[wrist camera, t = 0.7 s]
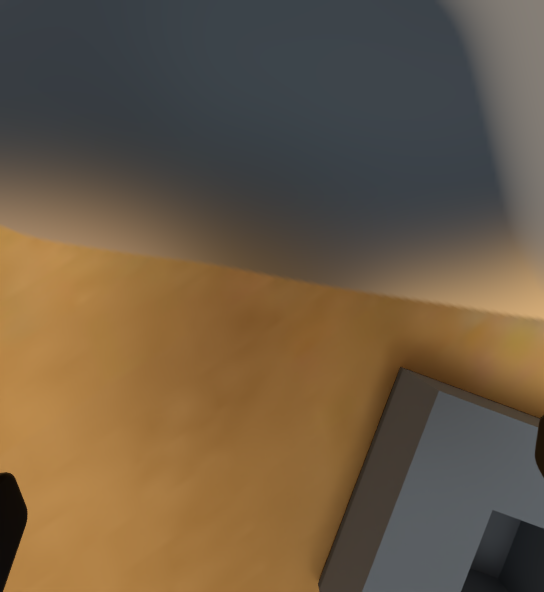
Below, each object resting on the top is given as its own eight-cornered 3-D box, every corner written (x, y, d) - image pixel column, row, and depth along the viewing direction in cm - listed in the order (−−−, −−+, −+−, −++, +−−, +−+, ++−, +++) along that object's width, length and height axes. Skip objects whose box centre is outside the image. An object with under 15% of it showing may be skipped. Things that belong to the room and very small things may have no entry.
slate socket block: (534, 662, 24) (610, 772, 19) (318, 583, 24) (332, 670, 19) (618, 447, 24) (721, 495, 19) (400, 366, 24) (438, 390, 19)
